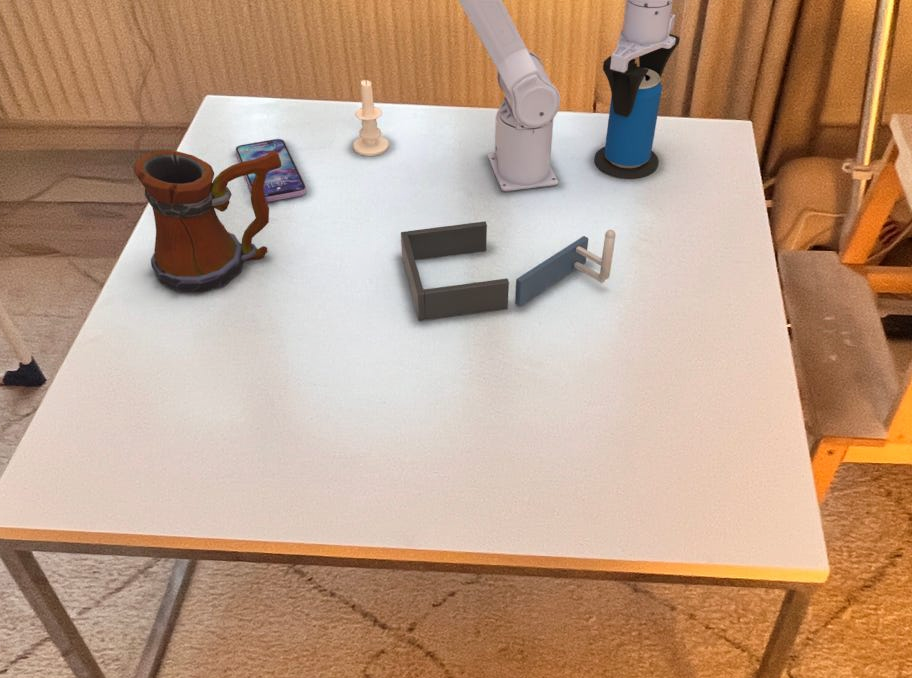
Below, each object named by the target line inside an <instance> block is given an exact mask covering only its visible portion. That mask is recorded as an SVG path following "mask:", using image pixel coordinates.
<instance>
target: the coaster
mask: <svg viewBox="0 0 912 678" xmlns="http://www.w3.org/2000/svg"><path fill="white" fill-rule="evenodd" d="M604 152H605V146H602V147H600V148H599V149H598V150H597V151H596V152H595V154H594V160H593V163H594V164H595V167H596V168H597V170H599V171H600V172H602V173H603V174H605V175H607V176H610V177H613V178H617V179H622V180H623V179H624V180H636V179H641V178H646V177H648V176H651V175H652V174H653V173H655V172H656V171H657V168H658V167H659V157H658V155H657V154H656V153H655V152H654V151H653V150H652V151H651V157H650V159H649V160H648V161H647V162H646V163H644V164H642V165H641V166H639V167H635V168H621V167H618V166H616V165H614V164H612V163H611V162H610V161H609V160H608V159H607V158H606V157H605V154H604Z"/></svg>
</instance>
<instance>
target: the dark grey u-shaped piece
mask: <svg viewBox="0 0 912 678" xmlns="http://www.w3.org/2000/svg"><path fill="white" fill-rule="evenodd" d="M487 236H488V224H487V222H486V221H478V222H470V223H469V222H468V223H460V224H452V225H444V226H438V227H430V228H429V227H428V228H420V229H412V230H406V231H401V232H400V245H401V259H402V263H403V267H404V270H405V274H406V277H407V282H408V285H409V289H410V292H411V297H412V300H413V304H414V307H415V311H416V315H417V319H418V321H419V322H421V321H422V322H423V321H429V320H437V319H443V318H452V317H457V316H459V317H460V316H466V315H473V314H480V313H487V312H495V311H502V310H508V308H509V294H510V293H509V289H510V282H509V279H508V278H499V279H492V280H485V281H477V282H470V283H463V284H456V285H455V284H453V285H447V286H439V287H432V288H424V287H423V284H422V280H421V276H420V273H419V270H418V265H417V262H416V261H419V260H428V259H436V258H442V257H451V256H457V255H459V256H460V255H465V254H474V253H480V252H482V253H483V252H487V242H488V241H487V238H488V237H487Z"/></svg>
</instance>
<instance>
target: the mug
mask: <svg viewBox="0 0 912 678" xmlns="http://www.w3.org/2000/svg"><path fill="white" fill-rule="evenodd" d="M280 167H281V160H280V157H279V155H278V153H277V151H271V152H270V153H268V154H267V155H265V156H263V157H260V158H257V159H254V160H250V161H245V162H241V163H240V162H237V163H235V164H232V165H230V166H228V167H226V168H225V169H224V170H223V169H222V171H221V172H219V173H218V174H217V175H216V176H215V172H214V169H213V167H212V165H211V164H209V163H208V162H207V161H204V160H203V159H201V158H199V157H197V156H195V155H194V154H193V155H192V154H189V153H186V152H182V151H178V150H175V151H172V150H157V151H154V152H150V153H148V154H145V155H143V156H141V157H140V158H139V159H137V160H136V162H135V164H134V165H133V166H132V169H133V172H134V174H135V176H136V178H137V179H138V180H139V182H140V183H141V185H142V186H143V188H144V196H145V198H146V200H147V202H148V203H149V206H151V207H152V212H153V217H154V223H155V242H154V251H153V252H154V253H153V254H152V257H151V258H150V264H151V268H152V270H153V272H154V274H155V276H156V278H157V279H158V281H159V282H160V284H161V285H163V286H165V287H167V288H169V289H171V290H173V291H175V292H177V293H203V292H207V291H210V290H214V289H218V288H221V287H225V286H226V285H227V284H228V283H229V282H230V281H231V280H233V279H234V278H235V277H237V276H238V275H239V274H240V273H241V272H242V269H243V265H244V262H245V261H255V260H259V259H260V260H261V259H264V258H265V256H266V254H267V253H268V247H267V246H265V245H264V246H263V245H262V246H261V247H259V248H257V246H256V244H254V243H253V238H254V237H255V236H256V235H258V233H260V232H261V231H262V230H263V229H264V228H265V227H266V226H267V225H268V224H269V223H270V207H269V204H268V202H267V201H266V198H265V194H264V183H265V179H266V175H267V173H268V172H269V171H271V170H274V169H278V168H280ZM252 173H253V174H255V178H254V180H253V184H252V188H251V190H250V202H251V207H252V210H253V213H254V217H255V218H254V219H253V220H252V221H251V223H249V224H248V226H247V227H246V229H244V232H243V235H242V238H241V243H240V242H239V240H238V238H237V237H236V235H235V234H234V233H231V232H229V231H228V230H227V228H226V227H225V226H224V224H223V223H222V222H221V220H220V219H219V216H218V214H217V212H216V210H217V211H219V212H221V213H223V212H226V211H227V210H228V208H229V205H230V199H231V197H232V196H233V194H232V191H231V190H230V189H229V187H228V184H229V182H231V181H234V180H235V179H238V178H241V177H245V175H249V174H252Z"/></svg>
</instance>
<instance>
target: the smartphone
mask: <svg viewBox="0 0 912 678" xmlns="http://www.w3.org/2000/svg"><path fill="white" fill-rule="evenodd" d="M271 151H277V153H278V155H279V157H280V160H281V167H280V168H278V169H274V170H271V171H269V172H268V173H267V175H266V179H265V183H264V194H265V198H266V201H267V203H268V202H273V201H279V200H284V199H289V198H296V197H301V196H303V195H305V194H306V193H307V185H306V183H305V181H304V179H303V177H302V175H301V173H300V171H299V168H298V166H297V165H296V163H295V160H294V158H293V155H292V154H291V152H290V150H289V148H288V145H287V143H286V141H285V140H284V139H281V138H274V139H268V140H262V141H255V142H249V143H243V144H239V145H237V146H236V147H235V154H236V157H237V160H238V163H241V162H245V161H250V160H254V159H257V158H260V157H263V156H265V155H267V154H268V153H270V152H271ZM244 177H245V180H246V183H247V185H248V187H249V189H250V191H251V188H252V184H253V180H254V178H255V174H253V173H252V174H249V175H245V176H244Z"/></svg>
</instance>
